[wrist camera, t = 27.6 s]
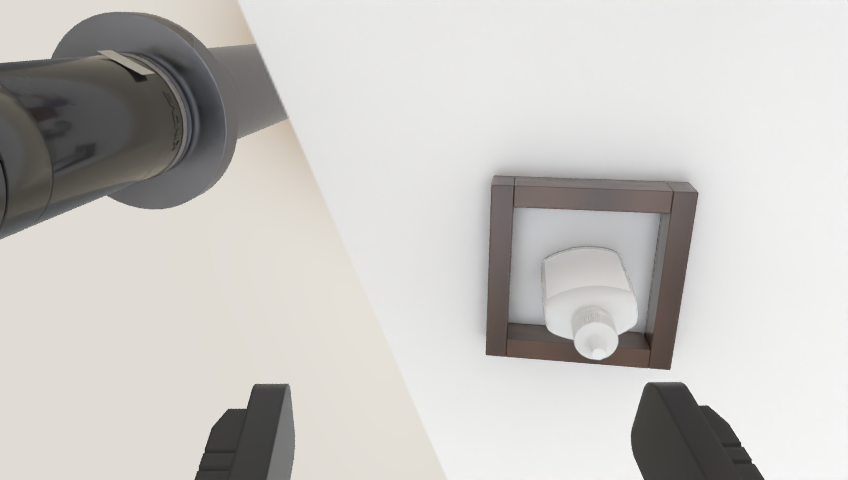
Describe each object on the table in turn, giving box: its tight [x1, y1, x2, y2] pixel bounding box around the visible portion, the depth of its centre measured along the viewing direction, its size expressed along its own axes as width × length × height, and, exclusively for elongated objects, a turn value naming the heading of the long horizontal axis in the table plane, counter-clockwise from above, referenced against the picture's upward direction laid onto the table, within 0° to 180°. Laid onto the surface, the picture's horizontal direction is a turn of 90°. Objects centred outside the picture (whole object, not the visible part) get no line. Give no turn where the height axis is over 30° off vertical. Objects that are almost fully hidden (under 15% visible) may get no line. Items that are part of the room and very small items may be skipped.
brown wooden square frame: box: [486, 176, 698, 370], centre depth 42 cm, size 13×13×2 cm
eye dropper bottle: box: [541, 247, 638, 360], centre depth 38 cm, size 4×6×12 cm
